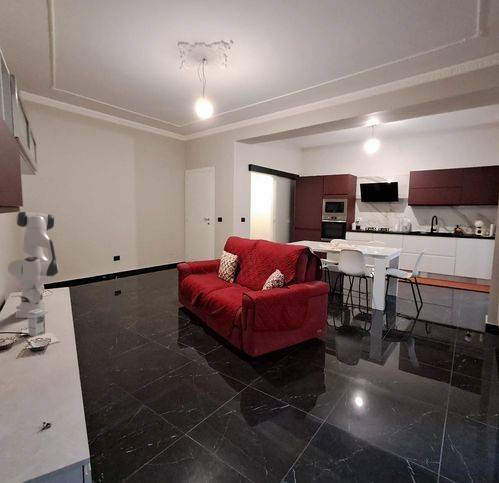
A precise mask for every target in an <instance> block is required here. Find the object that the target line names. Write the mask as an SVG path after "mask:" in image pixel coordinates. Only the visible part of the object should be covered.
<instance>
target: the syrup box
mask: <svg viewBox="0 0 499 483" xmlns="http://www.w3.org/2000/svg"><path fill="white" fill-rule="evenodd" d="M45 317H46V316H45V314H44V310H42V309H36V310H33V311H30V312H28V318H27V321H28V323H27V324H28V325H27V326H28V336H29V335H30V337H34V336H38V335H43V334H46V322H45Z"/></svg>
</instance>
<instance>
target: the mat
mask: <svg viewBox="0 0 499 483" xmlns="http://www.w3.org/2000/svg"><path fill="white" fill-rule="evenodd" d="M36 338H51V342H50V343H49V344H50V345H53V344H56V343H57V344H58V343H61V340H59V338H57V337H56V336H55V335H54V334H53V333H52V332H47V333H44V334H41V335H38V336H30V337H26V338H25V339H26V341H27V342H28V343H29V342H30V341H31V340H33V339H36Z"/></svg>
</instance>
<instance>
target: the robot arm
mask: <svg viewBox="0 0 499 483" xmlns="http://www.w3.org/2000/svg"><path fill="white" fill-rule="evenodd" d="M15 222H16V225H17V226H18V227H20V228H25V231H24V236H23V243H22V244H23V246H22V250H23V252H24V253H25V255H29V257H26V258H24V259H19V260H18V259H17V260H12V261H11V262H10V263H9V264H8V266H7V272H8V273H9V275H11V276H13V277H14V278H15V279H17V280H18V282H19V283H20V286H21V297H20V299H21V300H20V303H19V305H16V310H15V318H16V319H28V312H30V311H33V310H36V309H42V310H44V315H45V314H47V313H49V310H48V309H46V301H45V300H44V298H43V297H44V296H43V293H42V292H43V291H42V290H43V288H42V286H43V285H42V278H41V277H54V276H56V275H57V274H58V273H59V271H60V268H59V267H60V266H59V264H58V262H57V257H56V256H57V255H56V250H55V246H54V242H53V239H52V238H51V237H49V236H48V234H47V233H48V231H49V230H51V229H53V228H54V226H56V219H55V216H54V215H53V214H50V213H49V214H48V213H47V214H46V213H42V212H34V211H33V212H32V211H31V212H29V211H20V212H18V213H17V215H16V216H15ZM44 249H45V250H46V251H47V256H48V258H47V256H46V255H45V253H44Z"/></svg>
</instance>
